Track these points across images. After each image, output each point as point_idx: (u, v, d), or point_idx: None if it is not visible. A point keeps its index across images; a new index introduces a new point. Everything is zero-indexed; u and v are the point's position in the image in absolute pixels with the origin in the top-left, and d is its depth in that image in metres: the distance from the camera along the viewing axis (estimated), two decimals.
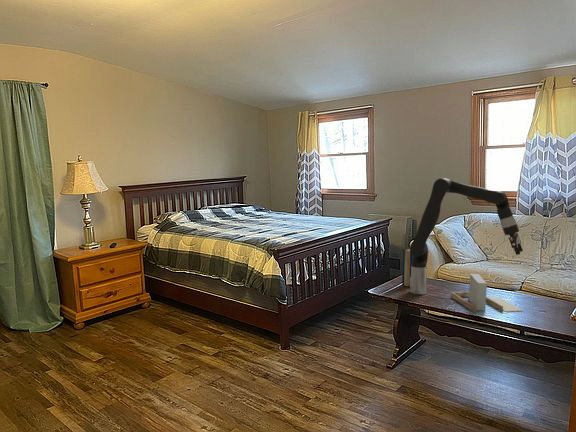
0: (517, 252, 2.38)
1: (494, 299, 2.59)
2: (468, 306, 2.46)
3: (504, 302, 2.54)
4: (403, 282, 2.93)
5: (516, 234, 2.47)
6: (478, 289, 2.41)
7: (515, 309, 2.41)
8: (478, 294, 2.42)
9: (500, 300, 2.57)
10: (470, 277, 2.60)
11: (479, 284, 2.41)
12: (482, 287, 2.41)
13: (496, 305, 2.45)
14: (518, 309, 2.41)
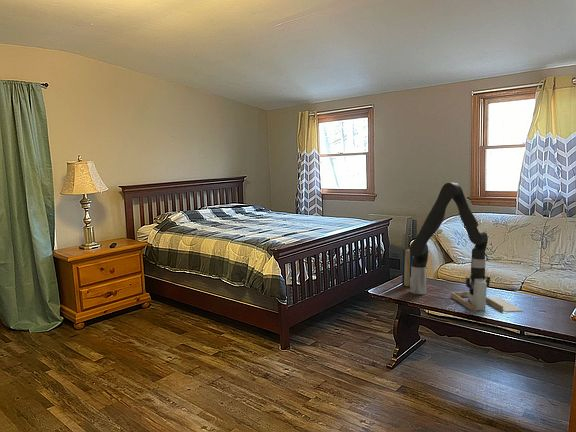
0: None
1: (494, 299, 2.59)
2: (468, 306, 2.46)
3: (504, 302, 2.54)
4: (403, 282, 2.93)
5: (487, 277, 2.50)
6: (478, 289, 2.41)
7: (515, 309, 2.41)
8: (478, 294, 2.42)
9: (500, 300, 2.57)
10: None
11: (479, 284, 2.41)
12: (482, 287, 2.41)
13: (496, 305, 2.45)
14: (518, 309, 2.41)
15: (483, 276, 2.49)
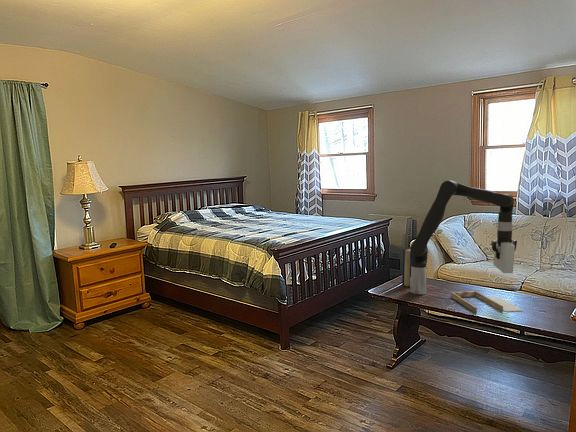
0: (497, 256, 2.48)
1: (494, 299, 2.59)
2: (468, 306, 2.46)
3: (504, 302, 2.54)
4: (403, 282, 2.93)
5: (514, 241, 2.47)
6: (506, 251, 2.38)
7: (515, 309, 2.41)
8: (506, 257, 2.38)
9: (500, 300, 2.57)
10: None
11: (507, 246, 2.37)
12: (510, 249, 2.37)
13: (496, 305, 2.45)
14: (518, 309, 2.41)
15: (510, 240, 2.46)
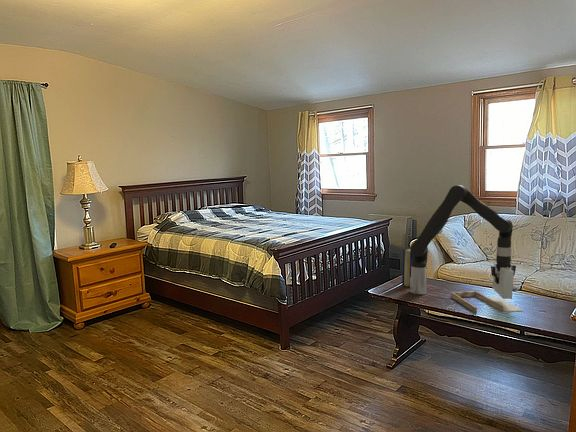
0: None
1: (494, 299, 2.59)
2: (468, 306, 2.46)
3: (504, 302, 2.54)
4: (403, 282, 2.93)
5: (513, 266, 2.49)
6: (505, 277, 2.40)
7: (515, 309, 2.41)
8: (505, 282, 2.40)
9: (500, 300, 2.57)
10: None
11: (506, 272, 2.39)
12: (509, 275, 2.39)
13: (496, 305, 2.45)
14: (518, 309, 2.41)
15: (509, 265, 2.48)
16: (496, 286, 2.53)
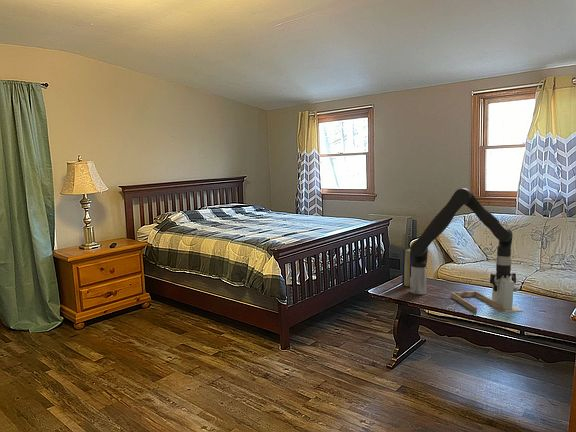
0: None
1: None
2: (468, 306, 2.46)
3: None
4: (403, 282, 2.93)
5: (513, 274, 2.49)
6: (505, 288, 2.40)
7: (515, 309, 2.41)
8: (505, 293, 2.40)
9: None
10: None
11: (506, 283, 2.40)
12: (509, 286, 2.40)
13: (496, 305, 2.45)
14: (518, 309, 2.41)
15: (508, 274, 2.48)
16: (496, 296, 2.54)
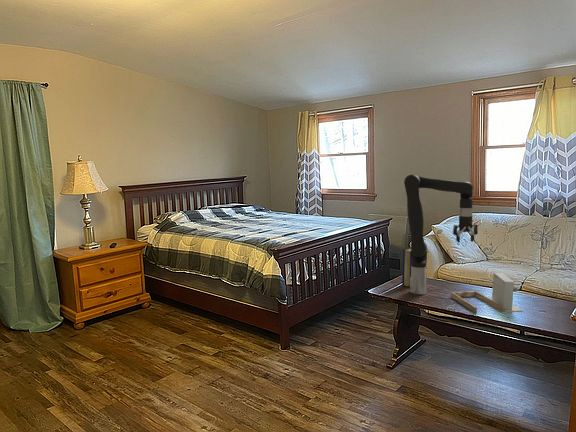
0: (457, 240, 2.64)
1: None
2: (468, 306, 2.46)
3: None
4: (403, 282, 2.93)
5: (475, 225, 2.63)
6: (505, 288, 2.40)
7: (515, 309, 2.41)
8: (505, 293, 2.40)
9: None
10: (494, 276, 2.59)
11: (506, 283, 2.40)
12: (509, 286, 2.40)
13: (496, 305, 2.45)
14: (518, 309, 2.41)
15: (470, 225, 2.62)
16: (496, 296, 2.54)
